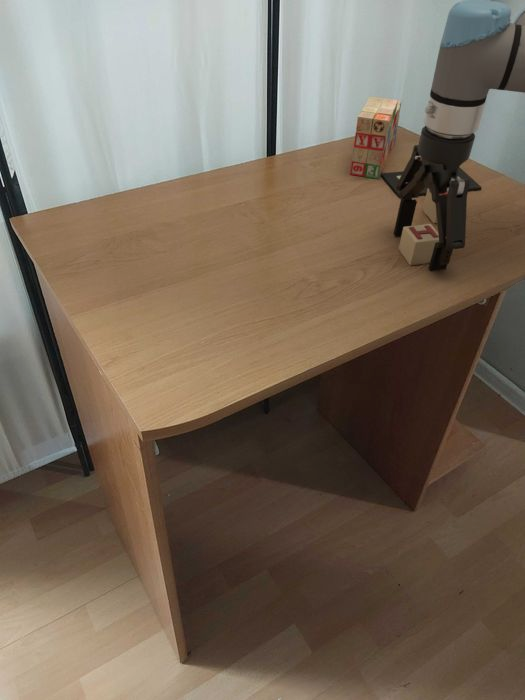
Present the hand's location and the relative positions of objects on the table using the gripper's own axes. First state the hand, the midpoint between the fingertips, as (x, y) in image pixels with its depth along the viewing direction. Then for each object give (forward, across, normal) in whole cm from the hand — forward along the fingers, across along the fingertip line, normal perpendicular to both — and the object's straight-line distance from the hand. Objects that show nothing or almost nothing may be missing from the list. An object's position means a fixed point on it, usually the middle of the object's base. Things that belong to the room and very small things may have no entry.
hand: (417, 255), depth 91 cm
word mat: (0, -25, +14) cm, 29 cm away
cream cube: (0, 0, 0) cm, 0 cm away
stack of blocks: (0, -39, +7) cm, 40 cm away
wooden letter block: (0, -12, +10) cm, 16 cm away
